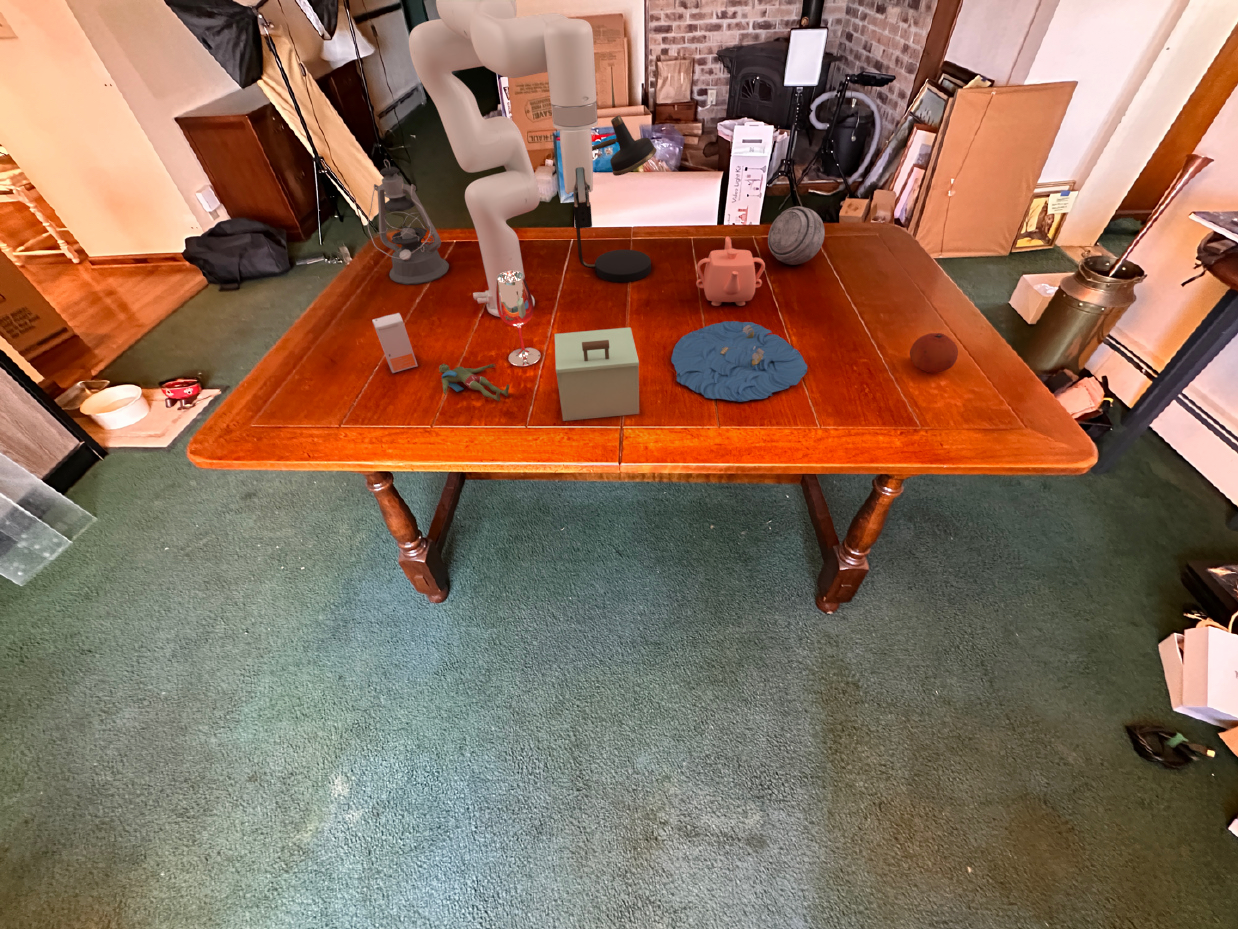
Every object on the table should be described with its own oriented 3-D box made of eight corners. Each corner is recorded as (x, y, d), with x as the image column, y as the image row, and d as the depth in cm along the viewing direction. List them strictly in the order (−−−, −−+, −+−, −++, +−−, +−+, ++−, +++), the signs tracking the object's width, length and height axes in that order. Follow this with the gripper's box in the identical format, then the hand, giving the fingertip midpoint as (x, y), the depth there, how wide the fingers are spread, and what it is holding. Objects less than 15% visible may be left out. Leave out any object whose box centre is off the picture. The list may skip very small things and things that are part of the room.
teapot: (730, 319, 139) (736, 270, 130) (684, 295, 148) (686, 248, 139) (770, 299, 145) (778, 251, 136) (723, 277, 154) (728, 231, 146)
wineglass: (546, 351, 131) (534, 270, 117) (532, 369, 126) (518, 287, 112) (517, 346, 133) (501, 265, 119) (501, 364, 128) (484, 282, 114)
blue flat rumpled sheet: (795, 421, 112) (801, 401, 108) (654, 392, 120) (654, 373, 116) (814, 339, 131) (819, 320, 127) (690, 319, 139) (691, 300, 135)
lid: (639, 365, 104) (638, 344, 101) (556, 373, 104) (553, 351, 101) (630, 330, 114) (630, 309, 111) (555, 337, 114) (552, 316, 110)
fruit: (896, 362, 123) (908, 330, 118) (928, 353, 125) (941, 321, 120) (926, 384, 117) (940, 351, 112) (958, 373, 119) (974, 341, 114)
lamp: (656, 281, 154) (658, 123, 127) (578, 284, 155) (563, 126, 128) (654, 256, 166) (655, 105, 138) (581, 258, 166) (568, 109, 139)
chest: (639, 413, 114) (638, 365, 105) (563, 421, 113) (556, 373, 105) (631, 377, 123) (630, 330, 114) (561, 384, 122) (555, 337, 114)
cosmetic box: (392, 374, 127) (374, 328, 118) (389, 365, 130) (371, 319, 121) (419, 366, 129) (403, 320, 120) (415, 357, 131) (399, 311, 123)
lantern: (384, 293, 155) (342, 178, 134) (388, 263, 169) (351, 154, 148) (450, 284, 157) (419, 169, 136) (448, 254, 171) (420, 146, 150)
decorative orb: (755, 258, 162) (762, 205, 152) (793, 246, 167) (803, 194, 156) (790, 278, 153) (800, 222, 142) (829, 265, 157) (842, 210, 147)
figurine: (478, 402, 111) (412, 374, 117) (479, 418, 113) (415, 390, 120) (526, 372, 122) (464, 348, 128) (527, 388, 124) (465, 364, 131)
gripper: (551, 105, 97) (562, 212, 110) (553, 128, 87) (565, 244, 100) (593, 102, 98) (600, 210, 111) (600, 124, 87) (606, 241, 100)
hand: (583, 226), depth 105 cm, fingers closed
